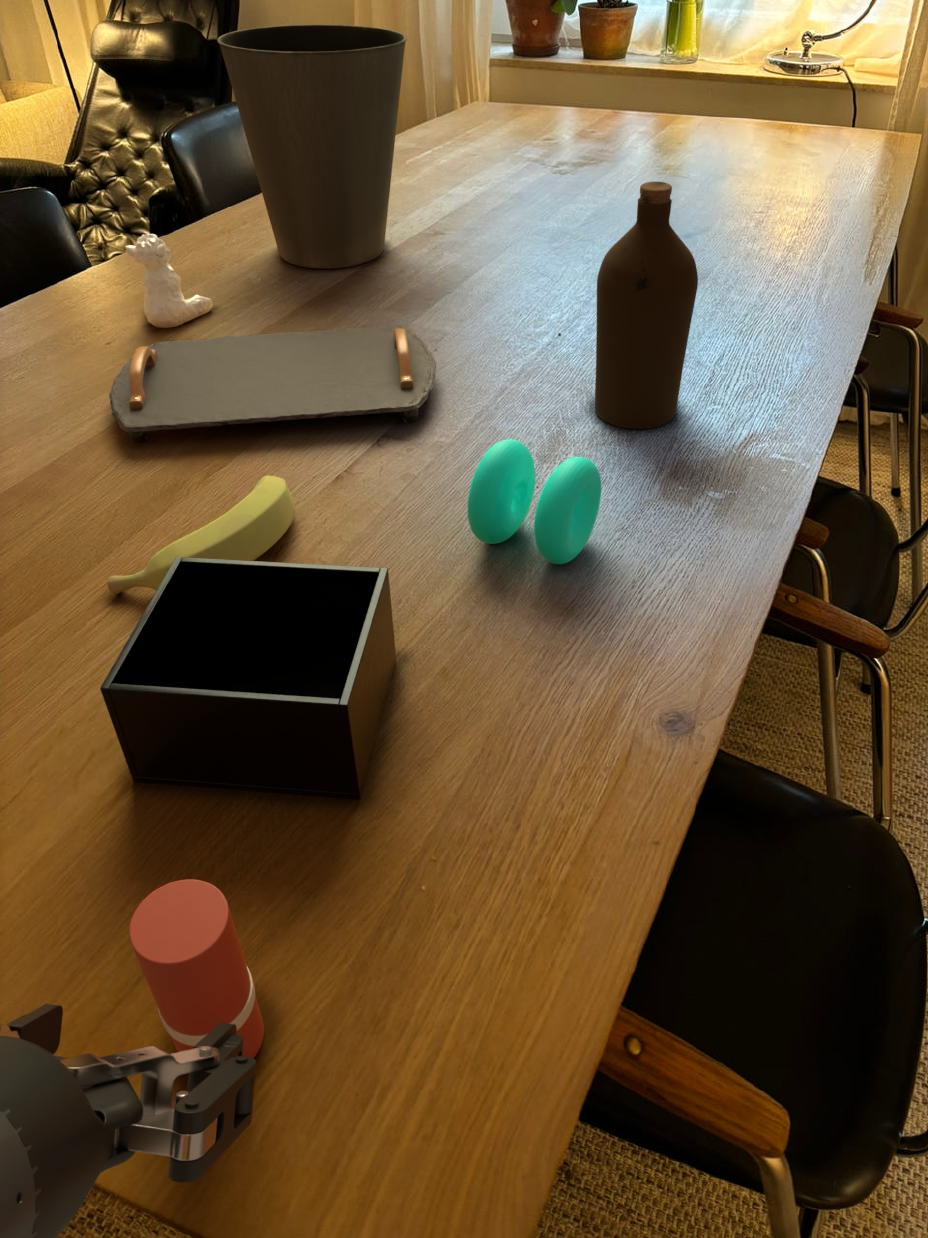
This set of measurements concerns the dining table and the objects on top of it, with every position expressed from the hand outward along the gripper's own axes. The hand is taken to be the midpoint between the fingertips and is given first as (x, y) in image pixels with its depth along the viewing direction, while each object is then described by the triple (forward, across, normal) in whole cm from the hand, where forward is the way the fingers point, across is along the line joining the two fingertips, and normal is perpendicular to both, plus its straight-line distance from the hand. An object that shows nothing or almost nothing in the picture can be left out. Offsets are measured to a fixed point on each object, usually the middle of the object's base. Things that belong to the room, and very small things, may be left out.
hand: (140, 1035), depth 46 cm
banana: (+46, +16, -29) cm, 56 cm away
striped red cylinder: (+12, 0, +4) cm, 13 cm away
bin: (+30, +4, -14) cm, 34 cm away
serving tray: (+69, +18, -52) cm, 88 cm away
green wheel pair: (+48, -15, -32) cm, 60 cm away
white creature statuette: (+84, +39, -67) cm, 114 cm away
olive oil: (+68, -25, -52) cm, 89 cm away
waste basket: (+103, +22, -87) cm, 137 cm away
